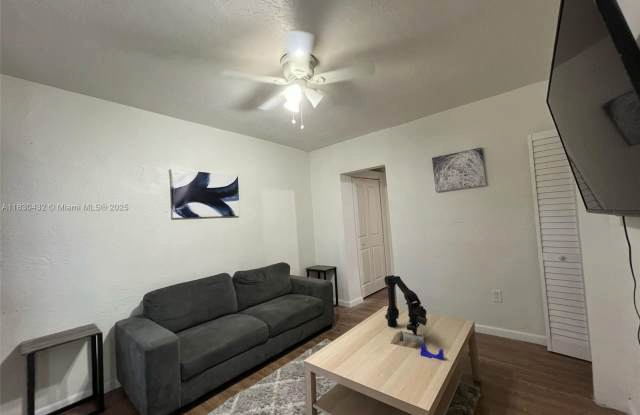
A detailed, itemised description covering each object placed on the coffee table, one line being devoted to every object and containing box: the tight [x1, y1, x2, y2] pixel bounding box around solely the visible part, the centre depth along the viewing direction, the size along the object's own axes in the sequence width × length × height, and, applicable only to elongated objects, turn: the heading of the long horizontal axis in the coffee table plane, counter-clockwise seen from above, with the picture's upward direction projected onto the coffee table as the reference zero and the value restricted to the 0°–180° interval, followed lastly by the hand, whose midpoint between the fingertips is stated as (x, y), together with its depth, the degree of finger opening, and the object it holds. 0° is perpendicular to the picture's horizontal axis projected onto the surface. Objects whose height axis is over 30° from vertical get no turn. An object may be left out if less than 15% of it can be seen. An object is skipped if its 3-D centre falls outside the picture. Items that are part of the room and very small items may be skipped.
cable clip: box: [419, 344, 445, 361], centre depth 152 cm, size 12×4×6 cm, turn 49°
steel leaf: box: [398, 330, 424, 345], centre depth 170 cm, size 15×2×6 cm, turn 58°
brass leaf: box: [402, 331, 425, 341], centre depth 171 cm, size 13×1×5 cm, turn 61°
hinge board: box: [389, 331, 430, 351], centre depth 173 cm, size 22×18×1 cm
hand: (415, 335), depth 172 cm, fingers closed
